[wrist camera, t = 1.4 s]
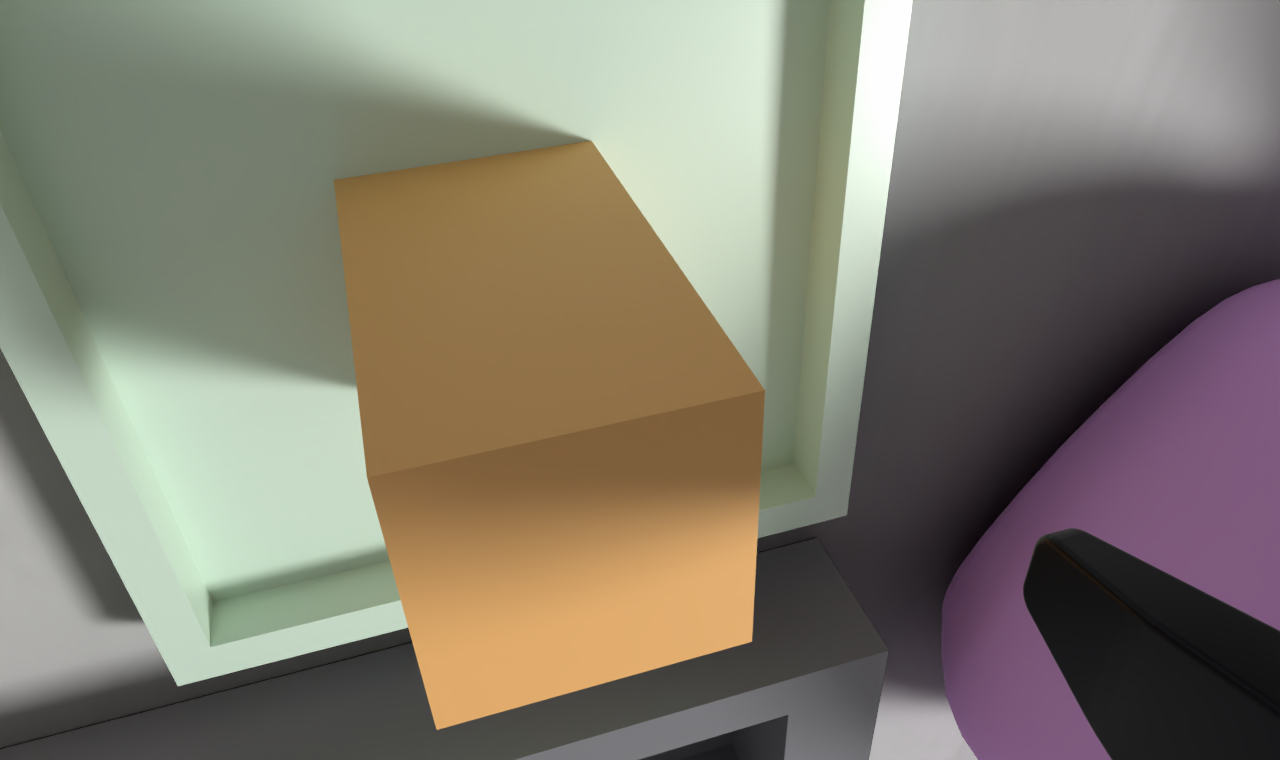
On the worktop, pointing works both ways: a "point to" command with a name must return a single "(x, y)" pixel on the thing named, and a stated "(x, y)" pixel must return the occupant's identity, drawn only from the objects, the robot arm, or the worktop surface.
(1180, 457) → the teapot
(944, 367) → the worktop surface
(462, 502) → the orange block
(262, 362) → the tray
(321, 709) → the strip
